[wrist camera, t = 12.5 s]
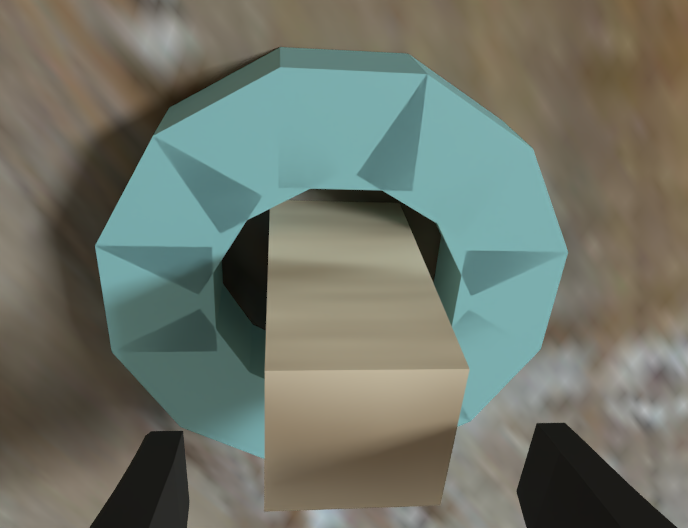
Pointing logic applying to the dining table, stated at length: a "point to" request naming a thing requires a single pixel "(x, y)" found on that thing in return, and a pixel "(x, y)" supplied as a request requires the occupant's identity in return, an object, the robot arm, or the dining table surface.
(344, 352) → the ash peg
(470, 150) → the bead ring
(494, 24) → the dining table surface
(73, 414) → the dining table surface
